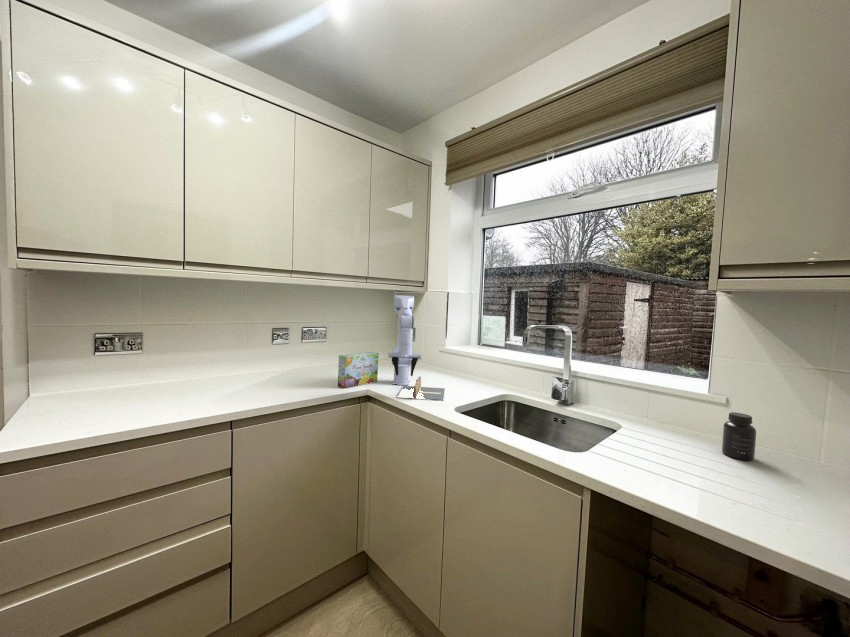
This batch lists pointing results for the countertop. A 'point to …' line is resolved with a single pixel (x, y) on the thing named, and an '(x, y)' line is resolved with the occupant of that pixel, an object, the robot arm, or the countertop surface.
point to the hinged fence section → (415, 389)
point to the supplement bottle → (739, 437)
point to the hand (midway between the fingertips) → (404, 375)
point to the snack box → (357, 369)
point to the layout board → (428, 391)
